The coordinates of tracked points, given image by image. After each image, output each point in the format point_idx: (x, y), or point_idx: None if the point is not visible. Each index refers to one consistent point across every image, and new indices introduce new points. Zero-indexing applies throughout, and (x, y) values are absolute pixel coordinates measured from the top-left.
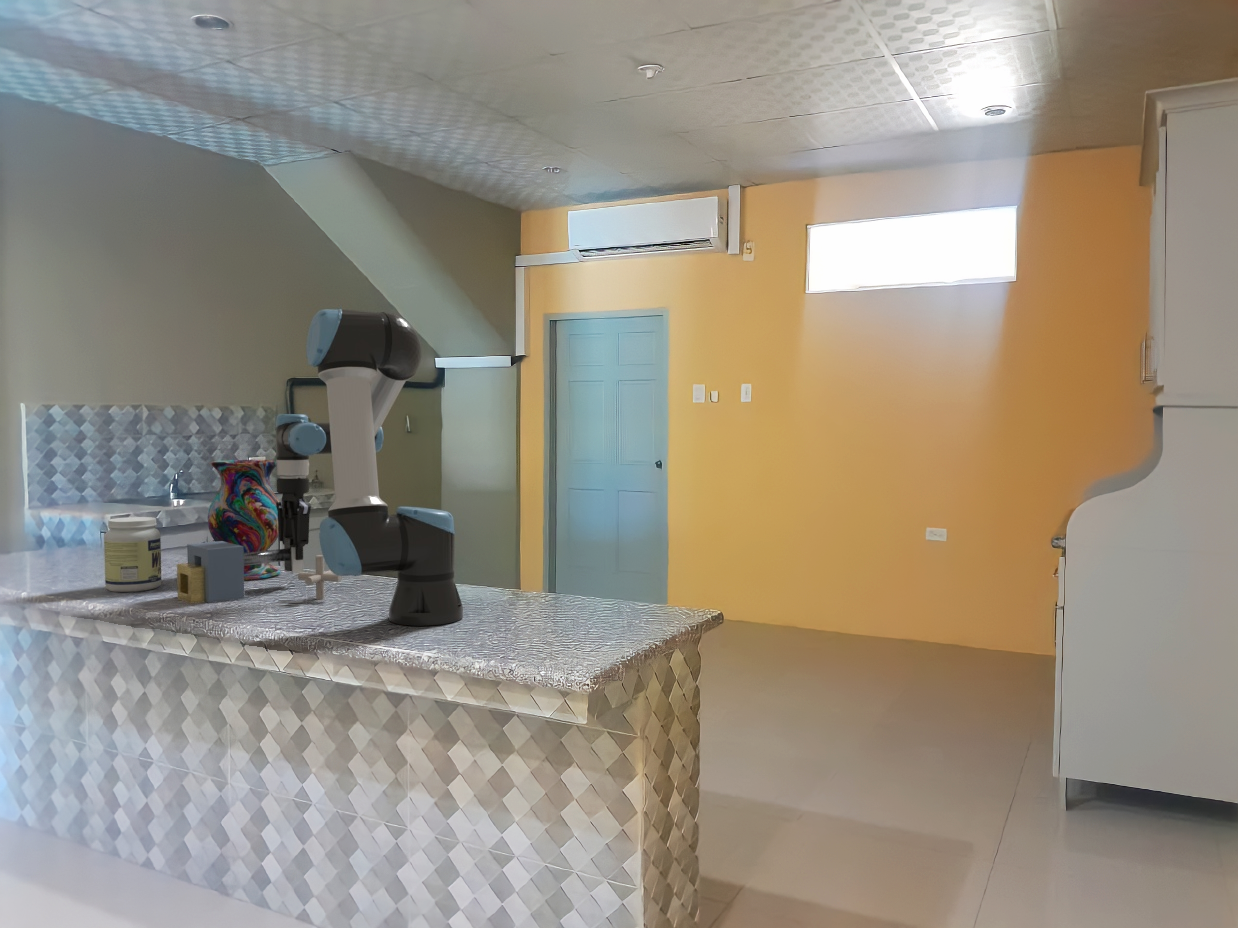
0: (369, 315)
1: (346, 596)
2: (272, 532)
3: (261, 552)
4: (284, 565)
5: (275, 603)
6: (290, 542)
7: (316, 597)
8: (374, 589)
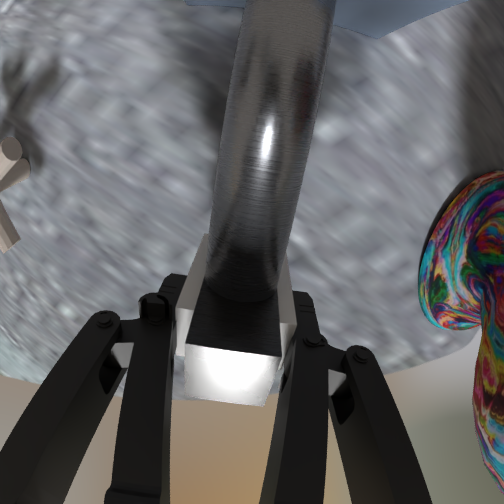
0: None
1: (20, 230)
2: (483, 389)
3: (246, 102)
4: (286, 258)
5: (49, 50)
6: (191, 327)
7: (20, 160)
8: (60, 315)
